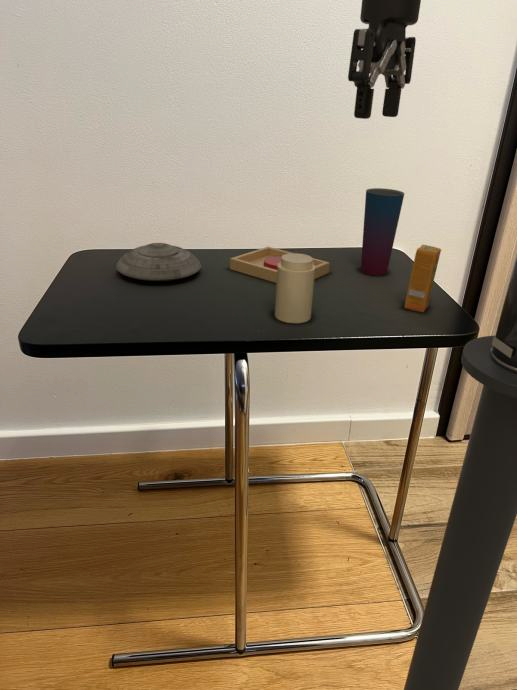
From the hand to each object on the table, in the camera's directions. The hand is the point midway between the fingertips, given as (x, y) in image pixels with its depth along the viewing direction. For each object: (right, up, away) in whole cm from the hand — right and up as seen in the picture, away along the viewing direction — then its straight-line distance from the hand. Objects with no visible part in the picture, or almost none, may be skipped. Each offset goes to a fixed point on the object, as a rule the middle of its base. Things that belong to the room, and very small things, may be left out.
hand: (376, 117), depth 77 cm
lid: (-13, -17, +24) cm, 32 cm away
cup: (+5, -18, +27) cm, 33 cm away
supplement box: (+9, -26, +11) cm, 30 cm away
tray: (-13, -18, +25) cm, 34 cm away
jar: (-11, -28, +6) cm, 31 cm away
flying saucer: (-35, -19, +21) cm, 45 cm away
